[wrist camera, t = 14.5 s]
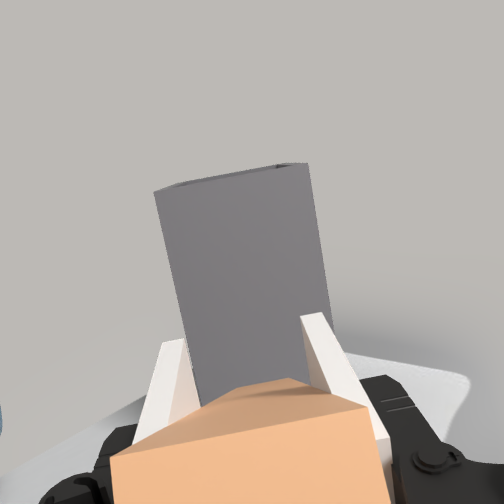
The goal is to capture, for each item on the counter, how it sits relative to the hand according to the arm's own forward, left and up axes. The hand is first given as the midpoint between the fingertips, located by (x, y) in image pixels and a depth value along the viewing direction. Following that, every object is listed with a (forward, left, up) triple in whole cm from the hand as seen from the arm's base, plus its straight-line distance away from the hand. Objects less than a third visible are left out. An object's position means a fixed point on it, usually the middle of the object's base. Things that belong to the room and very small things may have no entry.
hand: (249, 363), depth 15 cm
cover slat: (0, +3, -6) cm, 7 cm away
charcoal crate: (0, +35, -23) cm, 42 cm away
